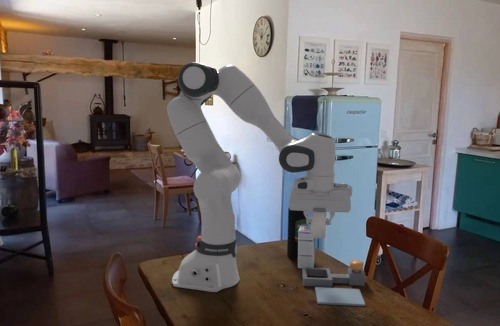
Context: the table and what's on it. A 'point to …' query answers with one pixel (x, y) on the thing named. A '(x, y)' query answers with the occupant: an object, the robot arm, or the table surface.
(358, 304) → the mat
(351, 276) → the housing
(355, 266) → the plunger
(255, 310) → the table surface
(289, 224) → the wine bottle
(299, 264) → the syrup box
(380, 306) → the table surface
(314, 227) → the white jar
